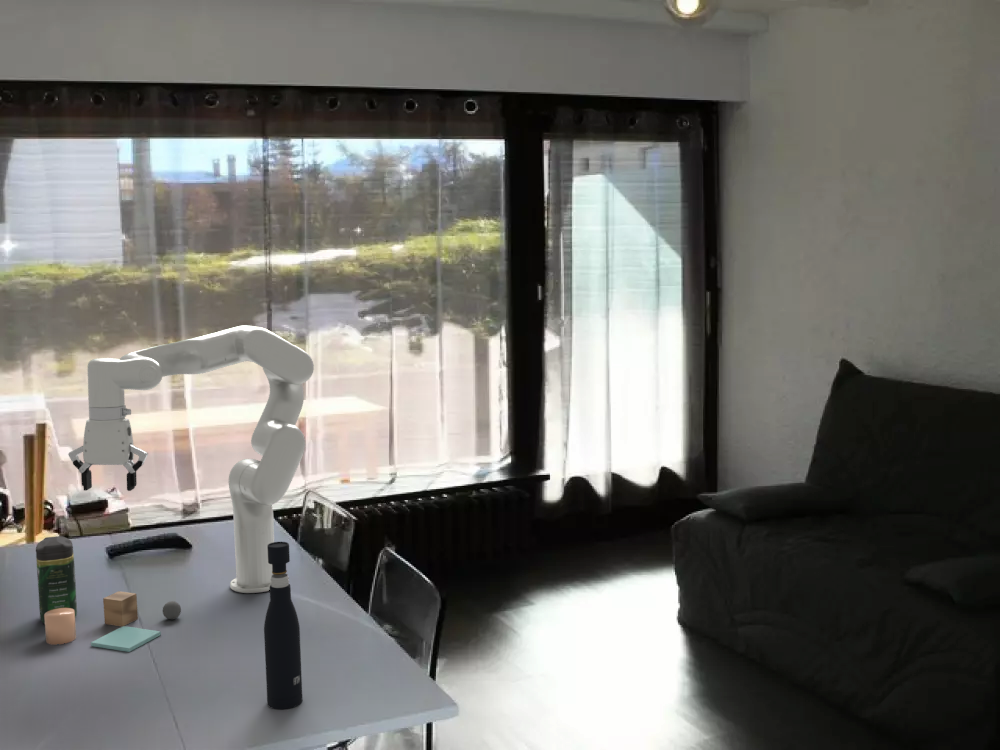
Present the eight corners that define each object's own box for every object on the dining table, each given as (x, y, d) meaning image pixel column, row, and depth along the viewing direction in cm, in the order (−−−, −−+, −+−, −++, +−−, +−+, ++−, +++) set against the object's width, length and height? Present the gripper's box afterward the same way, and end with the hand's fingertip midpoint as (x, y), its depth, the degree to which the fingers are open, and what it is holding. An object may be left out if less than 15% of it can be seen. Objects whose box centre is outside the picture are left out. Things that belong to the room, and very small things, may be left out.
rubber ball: (170, 614, 242) (169, 598, 241) (185, 616, 240) (184, 599, 240) (159, 620, 238) (158, 603, 238) (173, 622, 237) (172, 605, 236)
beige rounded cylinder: (60, 632, 232) (58, 606, 231) (82, 636, 230) (80, 609, 229) (39, 642, 226) (37, 615, 225) (61, 646, 224) (60, 619, 223)
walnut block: (120, 616, 241) (118, 591, 241) (137, 619, 240) (136, 593, 239) (104, 624, 237) (103, 598, 236) (122, 626, 235) (121, 600, 234)
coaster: (123, 629, 233) (123, 626, 233) (160, 634, 229) (160, 631, 229) (91, 645, 224) (90, 642, 224) (129, 651, 220) (129, 648, 220)
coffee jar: (78, 622, 238) (73, 542, 235) (40, 627, 235) (34, 546, 232) (77, 608, 247) (72, 531, 244) (40, 614, 244) (34, 535, 241)
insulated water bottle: (269, 695, 198) (262, 540, 194) (304, 693, 199) (297, 538, 195) (265, 710, 192) (257, 550, 188) (300, 708, 192) (294, 548, 189)
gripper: (151, 411, 239) (153, 486, 241) (74, 411, 239) (77, 485, 240) (140, 416, 231) (142, 493, 233) (61, 416, 231) (63, 492, 233)
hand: (109, 489), depth 237 cm, fingers open, 9 cm apart
